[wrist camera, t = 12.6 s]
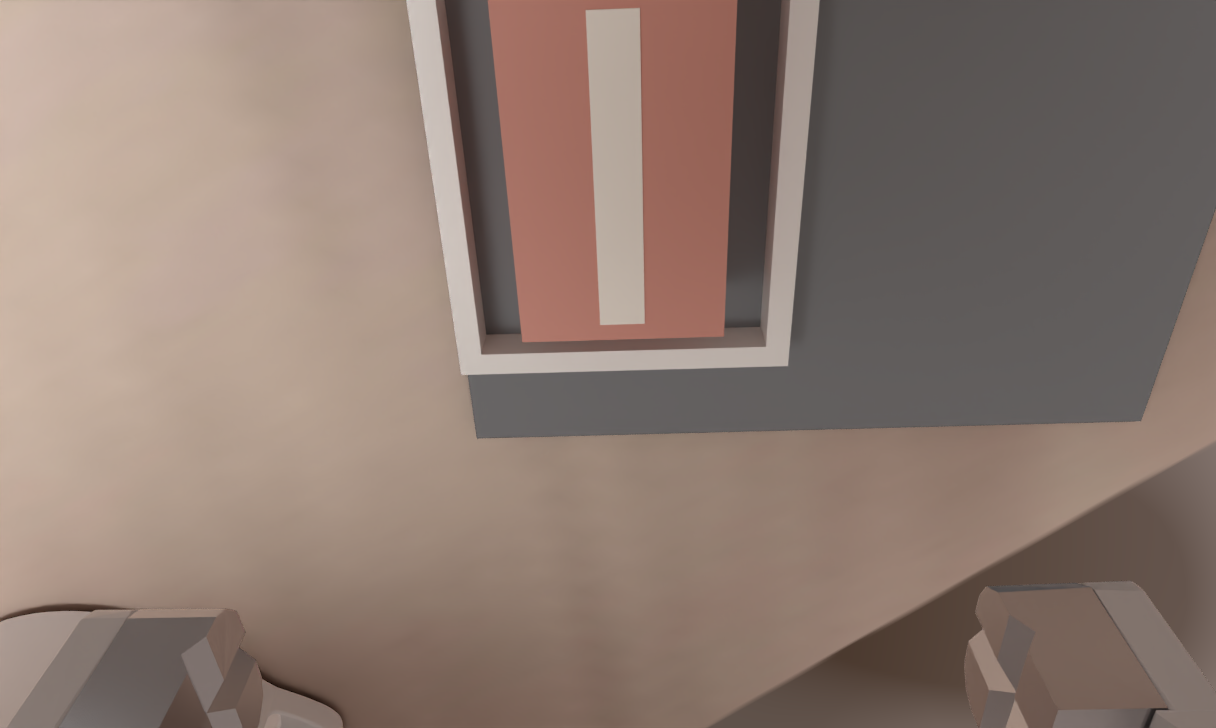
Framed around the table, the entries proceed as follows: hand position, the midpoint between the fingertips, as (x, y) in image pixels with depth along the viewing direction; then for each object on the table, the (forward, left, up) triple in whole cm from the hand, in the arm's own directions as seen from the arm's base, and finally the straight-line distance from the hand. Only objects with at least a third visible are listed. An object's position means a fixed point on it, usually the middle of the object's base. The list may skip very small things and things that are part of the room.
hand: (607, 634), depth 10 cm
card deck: (0, 0, -17) cm, 17 cm away
